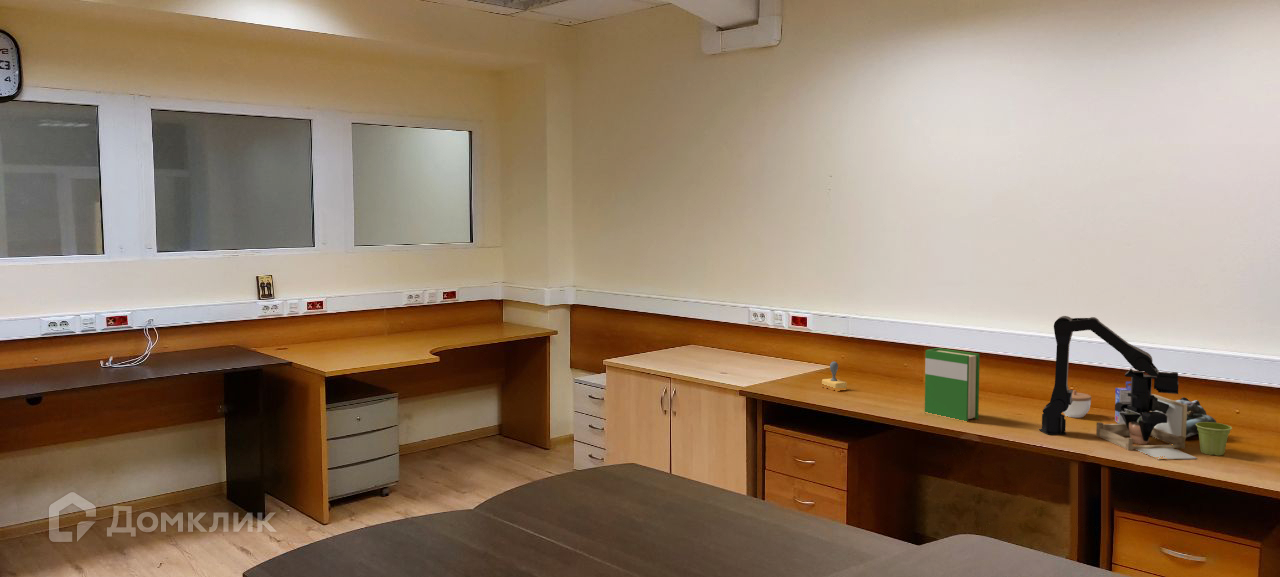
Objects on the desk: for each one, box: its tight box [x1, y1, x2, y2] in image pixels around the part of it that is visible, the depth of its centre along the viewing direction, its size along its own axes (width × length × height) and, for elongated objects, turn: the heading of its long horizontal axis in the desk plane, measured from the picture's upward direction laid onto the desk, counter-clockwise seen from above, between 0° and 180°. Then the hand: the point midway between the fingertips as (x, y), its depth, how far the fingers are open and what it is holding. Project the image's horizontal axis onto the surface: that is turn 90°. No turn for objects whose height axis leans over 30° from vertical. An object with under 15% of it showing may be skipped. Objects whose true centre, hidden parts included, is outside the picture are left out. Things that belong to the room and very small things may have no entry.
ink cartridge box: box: [1114, 380, 1143, 424], centre depth 306 cm, size 10×6×14 cm, turn 78°
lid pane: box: [1150, 393, 1187, 440], centre depth 282 cm, size 1×16×11 cm, turn 3°
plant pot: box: [1196, 422, 1233, 456], centre depth 268 cm, size 9×9×9 cm
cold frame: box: [1095, 422, 1186, 451], centre depth 282 cm, size 18×17×5 cm
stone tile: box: [1135, 448, 1198, 460], centre depth 267 cm, size 12×11×1 cm
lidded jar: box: [1062, 390, 1092, 419], centre depth 318 cm, size 11×11×9 cm
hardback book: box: [924, 347, 981, 422], centre depth 320 cm, size 18×7×24 cm, turn 35°
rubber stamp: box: [821, 360, 847, 389], centre depth 372 cm, size 10×6×12 cm, turn 25°
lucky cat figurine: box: [1175, 396, 1218, 439], centre depth 289 cm, size 15×12×14 cm
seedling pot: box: [1129, 418, 1150, 445], centre depth 282 cm, size 6×6×8 cm
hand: (1139, 438), depth 282 cm, fingers closed on seedling pot, 6 cm apart
